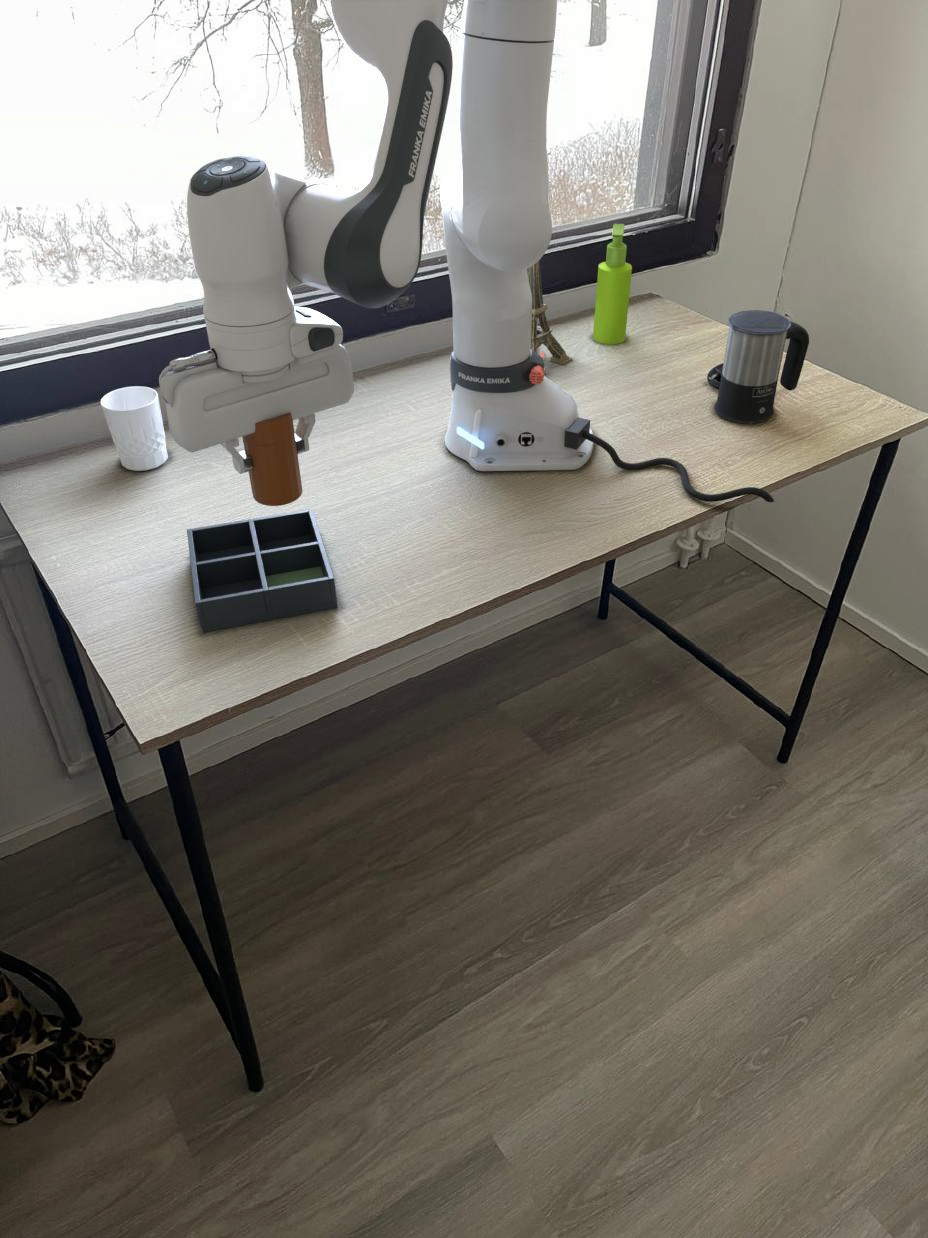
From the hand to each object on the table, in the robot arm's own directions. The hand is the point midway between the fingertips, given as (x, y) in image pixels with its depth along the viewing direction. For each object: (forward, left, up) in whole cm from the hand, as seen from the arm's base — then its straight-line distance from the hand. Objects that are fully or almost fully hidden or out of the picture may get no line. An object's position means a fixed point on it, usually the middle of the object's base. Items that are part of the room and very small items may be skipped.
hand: (272, 460), depth 103 cm
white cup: (+32, -27, -18) cm, 46 cm away
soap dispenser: (-33, -83, -18) cm, 91 cm away
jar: (0, 0, -4) cm, 4 cm away
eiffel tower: (-20, -71, -18) cm, 76 cm away
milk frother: (-55, -61, -18) cm, 84 cm away
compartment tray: (+4, -1, -18) cm, 19 cm away
